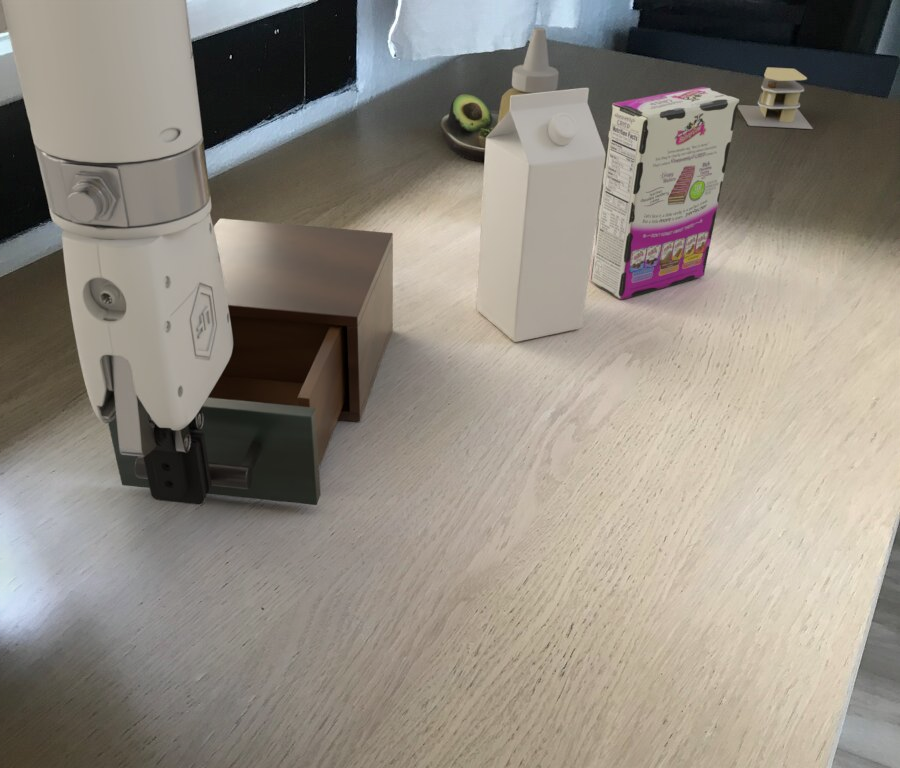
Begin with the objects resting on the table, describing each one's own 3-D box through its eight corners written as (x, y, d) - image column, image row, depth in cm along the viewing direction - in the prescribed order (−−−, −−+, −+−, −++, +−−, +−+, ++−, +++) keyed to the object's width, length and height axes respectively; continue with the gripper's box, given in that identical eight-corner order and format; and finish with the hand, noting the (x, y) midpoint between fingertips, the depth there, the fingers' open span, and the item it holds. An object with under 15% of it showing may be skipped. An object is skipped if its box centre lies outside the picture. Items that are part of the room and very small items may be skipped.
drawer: (302, 544, 62) (295, 454, 58) (97, 523, 63) (74, 432, 58) (357, 396, 76) (355, 313, 72) (189, 380, 77) (176, 297, 72)
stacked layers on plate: (735, 105, 143) (744, 63, 140) (797, 108, 143) (807, 66, 140) (748, 125, 136) (758, 82, 132) (813, 129, 136) (824, 86, 132)
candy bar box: (670, 259, 100) (703, 84, 89) (704, 278, 97) (744, 98, 86) (585, 282, 96) (610, 99, 85) (619, 302, 92) (649, 115, 82)
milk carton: (474, 310, 90) (488, 83, 77) (540, 297, 93) (564, 76, 80) (513, 344, 85) (534, 109, 73) (582, 329, 88) (614, 100, 75)
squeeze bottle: (524, 195, 113) (540, 16, 101) (575, 216, 108) (597, 32, 96) (471, 209, 109) (481, 25, 97) (521, 233, 104) (538, 42, 92)
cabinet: (360, 422, 75) (357, 316, 69) (173, 404, 76) (156, 298, 70) (392, 329, 87) (392, 232, 81) (231, 314, 87) (219, 218, 82)
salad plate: (566, 118, 135) (570, 81, 132) (611, 161, 122) (617, 121, 119) (429, 122, 131) (430, 85, 128) (461, 167, 119) (463, 127, 116)
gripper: (149, 247, 41) (205, 582, 53) (247, 136, 52) (275, 434, 64) (-25, 232, 41) (71, 567, 53) (110, 125, 52) (163, 423, 65)
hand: (182, 494), depth 59 cm, fingers closed
